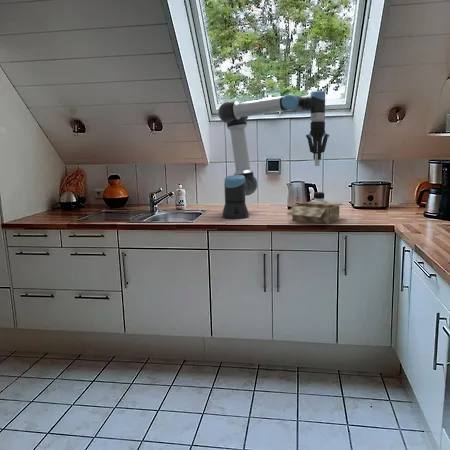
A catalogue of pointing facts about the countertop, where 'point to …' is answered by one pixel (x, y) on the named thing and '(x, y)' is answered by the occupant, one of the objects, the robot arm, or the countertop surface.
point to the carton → (327, 217)
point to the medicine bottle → (319, 197)
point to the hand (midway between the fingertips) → (317, 165)
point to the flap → (306, 211)
